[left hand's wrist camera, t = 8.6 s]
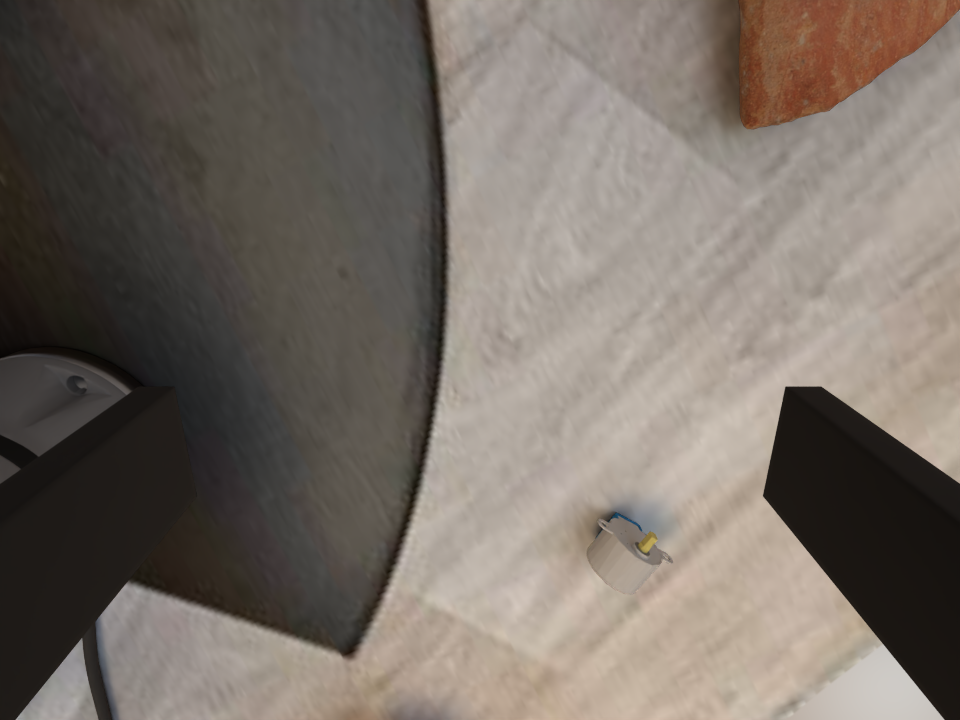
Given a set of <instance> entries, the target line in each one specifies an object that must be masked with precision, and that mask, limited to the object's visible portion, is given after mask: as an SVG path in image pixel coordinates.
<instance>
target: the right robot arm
mask: <svg viewBox="0 0 960 720" xmlns="http://www.w3.org/2000/svg"><path fill="white" fill-rule="evenodd" d="M138 387H143V386H142V385H141V384H140V383H139V382H137V381H136V380H135V379H134V378H133V377H131V376H130V375H129V374H127V373H126V372H124V371H123V370H121V369H120V368H118V367H116V366H115V365H113V364H111V363H109V362H107V361H105V360H103V359H101V358H98V357H96V356H94V355H91V354H88V353H85V352H81V351H77V350H73V349H67V348H60V347H37V348H29V349H25V350H20V351H17V352H14V353H12V354H9V355H7V356H4V357H2V358H0V484H1V483H2V482H3V481H5V480H6V479H8V478H9V477H11V476H12V475H13V474H15V473H16V472H18V471H19V470H21V469H22V468H23V467H25V466H26V465H28V464H29V463H31V462H32V461H33V460H35V459H36V458H38V457H39V456H41V455H42V454H43V453H45V452H46V451H48V450H49V449H51V448H52V447H53V446H55V445H56V444H58V443H59V442H61V441H62V440H63V439H65V438H66V437H68V436H69V435H71V434H72V433H73V432H75V431H76V430H78V429H79V428H81V427H82V426H83V425H85V424H86V423H88V422H89V421H90V420H92V419H93V418H95V417H96V416H98V415H99V414H100V413H102V412H103V411H105V410H106V409H108V408H109V407H110V406H112V405H113V404H115V403H116V402H118V401H119V400H120V399H122V398H123V397H125V396H126V395H128V394H129V393H130V392H132V391H133V390H135V389H136V388H138ZM82 640H83V650H84V659H85V665H86V671H87V676H88V681H89V685H90V689H91V693H92V697H93V700H94V704H95V708H96V711H97V715H98V719H99V720H112V718H111V713H110V709H109V705H108V702H107V698H106V694H105V690H104V686H103V682H102V677H101V673H100V667H99V661H98V654H97V645H96V631H95V622H94V623H93V625H92V626H91V627H90V628H89V630H88V631H87V632H86V633H85V635H84V636H83V637H82Z"/></svg>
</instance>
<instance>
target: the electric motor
mask: <svg viewBox="0 0 960 720" xmlns="http://www.w3.org/2000/svg"><path fill="white" fill-rule="evenodd" d="M597 522H598V524H599V526H600V527H601V528H603V529H602V531H601V532H600V533H599V534H598V536H597V537H596V539H595V540H594V542H593V543H592V544H591V545H590V547H589V548H588V550H587V558H588V561H589V563H590V565H591V567H592V568H593V570H594V571H595V572H596V574H597V575H598V576H599V577H600V578H601V579H602V580H603V581H604V582H605V583H607V584H608V585H609V586H611V587H612V588H613V589H615V590H617V591H619V592H621V593H624V594H630V595H631V594H634V593H635V592H636V591H637V590H638V589H639V588H640V587H641V586H642V584H643V583H644V582H645V581H646V580H647V579H648V578H649V577H650V575H651V574H652V573H653V572H654V571H655V570H656V569H657V568H658V566H659V565H660V564H661V563H662V561H664V562H666V563H669V564H672V563H673V560H672V558H671V557H670V556H669V555H668V554H667V553H665V552H663V551H661V550H660V549H658V548H657V547H656V545H655V544H654V543H655V542H656V541H657V540H658V539H657V537H656V534H654V533H653V532H649V533H648V534H647V535H645V534H644V533H643V532H642V529H641V527H640V525H638V524H637V523H635V522H633V521H631V520H630V519H628V518H626V517H624V516H622V515H620V514H618V513H615V514H614V516H613V517H612V518H611V519H610V521H609V522H606V521H605V520H603V519H598V520H597ZM601 522H602V523H604V524H605V525H606V526H604V525H603V524H602V523H601ZM663 555H665V556H666V557H667V558H668V559H669V560H668V559H666V558H665V557H664V556H663Z"/></svg>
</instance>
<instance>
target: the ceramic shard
mask: <svg viewBox="0 0 960 720" xmlns="http://www.w3.org/2000/svg"><path fill="white" fill-rule="evenodd" d="M738 1H739V7H740V17H741V24H740V31H741V36H740V42H739V84H740V97H739V99H740V117H741V121H742V123H743V125H744V127H746V128H747V129H756V128H759V127H767V126H770V125H779V124H782V123H785V122H792V121H793V120H795V119H797V118H800V117H804V116H808V115H812V114H815V113H819V112H826V111H830V110H831V109H832V108H833V107H834V106H835V105H836V104H838V103H839V102H841V101H843V100H845V99H846V98H848V97H849V96H850V95H851V94H853V93H855V92H856V91H858V90H859V89H861V88H863V87H864V86H866V85H868V84H870V83H871V82H872V81H873V80H874V79H875V78H876V77H877V76H878V75H879V74H881V73H882V72H883V71H885V70H886V69H888V68H889V67H891V66H892V65H894V64H895V63H896V62H897V61H899V60H900V59H902V58H904V57H906V56H908V55H910V54H912V53H913V52H915V51H916V50H917V49H918V48H919V47H921V46H922V45H923V44H924V43H926V42H927V41H928V40H929V39H930V38H931V37H932V36H933V35H934V34H935V33H936V32H937V31H938V30H939V29H940V28H941V27H943V26H944V25H945V24H946V23H947V22H948V21H949V20H950V19H951V18H952V17H953V16H954V14H955V13H956V12H957V11H958V10H959V9H960V0H738Z"/></svg>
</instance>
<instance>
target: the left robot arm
mask: <svg viewBox="0 0 960 720" xmlns="http://www.w3.org/2000/svg"><path fill="white" fill-rule="evenodd" d="M196 497H197V494H196V489H195V484H194V479H193V474H192V469H191V465H190V460H189V455H188V450H187V445H186V440H185V436H184V431H183V426H182V421H181V416H180V411H179V406H178V402H177V397H176V392H175V387H138V388H136V389H135V390H133V391H132V392H130V393H129V394H128V395H126V396H125V397H123V398H122V399H120V400H119V401H118V402H116V403H115V404H113V405H112V406H110V407H109V408H108V409H106V410H105V411H103V412H102V413H100V414H99V415H98V416H96V417H95V418H93V419H92V420H90V421H89V422H88V423H86V424H85V425H83V426H82V427H81V428H79V429H78V430H76V431H75V432H73V433H72V434H71V435H69V436H68V437H66V438H65V439H63V440H62V441H61V442H59V443H58V444H56V445H55V446H53V447H52V448H51V449H49V450H48V451H46V452H45V453H43V454H42V455H41V456H39V457H38V458H36V459H35V460H33V461H32V462H31V463H29V464H28V465H26V466H25V467H23V468H22V469H21V470H19V471H18V472H16V473H15V474H13V475H12V476H11V477H9V478H8V479H6V480H5V481H3V482H2V483H1V484H0V720H15V719H16V718H17V717H18V716H19V715H20V713H21V712H22V711H23V710H24V708H25V707H26V706H27V705H28V703H29V702H30V701H31V700H32V699H33V697H34V696H35V695H36V694H37V692H38V691H39V690H40V689H41V687H42V686H43V685H44V684H45V683H46V681H47V680H48V679H49V678H50V676H51V675H52V674H53V673H54V671H55V670H56V669H57V668H58V667H59V665H60V664H61V663H62V662H63V660H64V659H65V658H66V657H67V655H68V654H69V653H70V652H71V651H72V649H73V648H74V647H75V646H76V644H77V643H78V642H79V641H80V639H81V638H82V637H83V636H84V635H85V633H86V632H87V631H88V630H89V628H90V627H91V626H92V625H93V623H94V622H95V621H96V620H97V619H98V617H99V616H100V615H101V614H102V612H103V611H104V610H105V609H106V607H107V606H108V605H109V604H110V603H111V601H112V600H113V599H114V598H115V596H116V595H117V594H118V593H119V591H120V590H121V589H122V588H123V586H124V585H125V584H126V583H127V582H128V580H129V579H130V578H131V577H132V575H133V574H134V573H135V572H136V570H137V569H138V568H139V567H140V566H141V564H142V563H143V562H144V561H145V559H146V558H147V557H148V556H149V554H150V553H151V552H152V551H153V550H154V548H155V547H156V546H157V545H158V543H159V542H160V541H161V540H162V538H163V537H164V536H165V535H166V534H167V532H168V531H169V530H170V529H171V527H172V526H173V525H174V524H175V522H176V521H177V520H178V519H179V518H180V516H181V515H182V514H183V513H184V511H185V510H186V509H187V508H188V506H189V505H190V504H191V503H192V502H193V500H194V499H195V498H196ZM763 497H764V498H765V499H766V500H767V502H768V503H769V504H770V505H771V506H772V508H773V509H774V510H775V511H776V513H777V514H778V515H779V516H780V518H781V519H782V520H783V521H784V522H785V524H786V525H787V526H788V527H789V529H790V530H791V531H792V532H793V534H794V535H795V536H796V537H797V538H798V540H799V541H800V542H801V543H802V545H803V546H804V547H805V548H806V550H807V551H808V552H809V553H810V554H811V556H812V557H813V558H814V559H815V561H816V562H817V563H818V564H819V566H820V567H821V568H822V569H823V570H824V572H825V573H826V574H827V575H828V577H829V578H830V579H831V580H832V582H833V583H834V584H835V585H836V586H837V588H838V589H839V590H840V591H841V593H842V594H843V595H844V596H845V598H846V599H847V600H848V601H849V603H850V604H851V605H852V606H853V607H854V609H855V610H856V611H857V612H858V614H859V615H860V616H861V617H862V619H863V620H864V621H865V622H866V623H867V625H868V626H869V627H870V628H871V630H872V631H873V632H874V633H875V635H876V636H877V637H878V638H879V639H880V641H881V642H882V643H883V644H884V646H885V647H886V648H887V649H888V651H889V652H890V653H891V654H892V655H893V657H894V658H895V659H896V660H897V662H898V663H899V664H900V665H901V667H902V668H903V669H904V670H905V671H906V673H907V674H908V675H909V676H910V678H911V679H912V680H913V681H914V683H915V684H916V685H917V686H918V687H919V689H920V690H921V691H922V692H923V694H924V695H925V696H926V697H927V699H928V700H929V701H930V702H931V703H932V705H933V706H934V707H935V708H936V710H937V711H938V712H939V713H940V715H941V716H942V717H943V718H944V719H945V720H960V484H959V483H958V482H957V481H955V480H954V479H952V478H951V477H949V476H948V475H947V474H945V473H944V472H942V471H941V470H939V469H938V468H937V467H935V466H934V465H932V464H931V463H929V462H928V461H927V460H925V459H924V458H922V457H921V456H919V455H918V454H917V453H915V452H914V451H912V450H911V449H909V448H908V447H907V446H905V445H904V444H902V443H901V442H899V441H898V440H897V439H895V438H894V437H892V436H891V435H889V434H888V433H887V432H885V431H884V430H882V429H881V428H879V427H878V426H877V425H875V424H874V423H872V422H871V421H870V420H868V419H867V418H865V417H864V416H862V415H861V414H860V413H858V412H857V411H855V410H854V409H852V408H851V407H850V406H848V405H847V404H845V403H844V402H842V401H841V400H840V399H838V398H837V397H835V396H834V395H832V394H831V393H830V392H828V391H827V390H825V389H824V388H822V387H785V392H784V397H783V402H782V406H781V411H780V416H779V421H778V426H777V431H776V435H775V440H774V445H773V450H772V455H771V460H770V465H769V469H768V474H767V479H766V484H765V489H764V494H763Z"/></svg>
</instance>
